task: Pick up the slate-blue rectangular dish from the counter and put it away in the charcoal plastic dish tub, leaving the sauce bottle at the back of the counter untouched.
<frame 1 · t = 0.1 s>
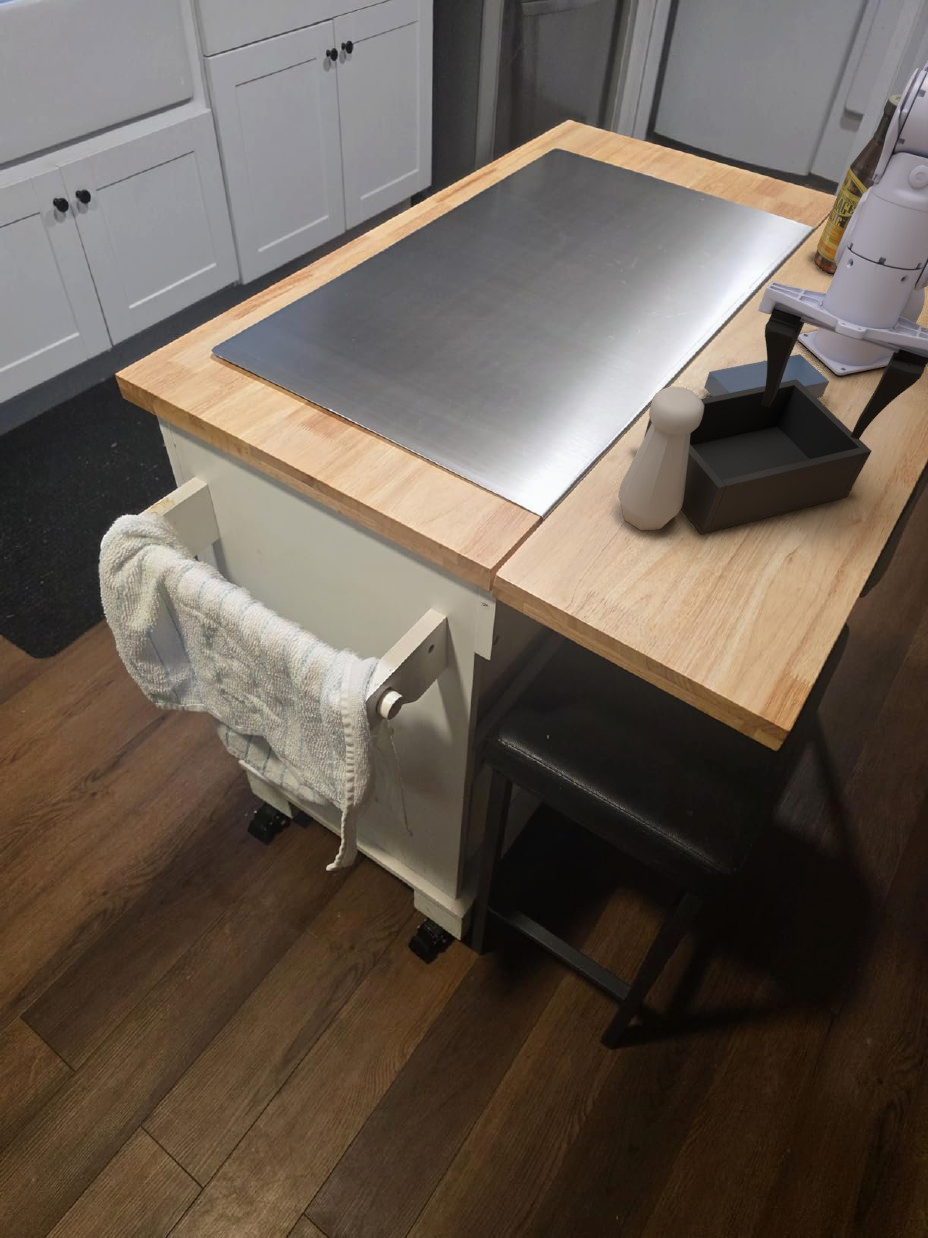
hand: (811, 417, 74), 10 cm above the kitchen island, tool pointing down, fingers open, 7 cm apart
tub: (741, 475, 85), on the kitchen island
dish: (760, 400, 93), on the kitchen island
sauce bottle: (835, 267, 114), on the kitchen island
salt shaker: (644, 517, 80), on the kitchen island
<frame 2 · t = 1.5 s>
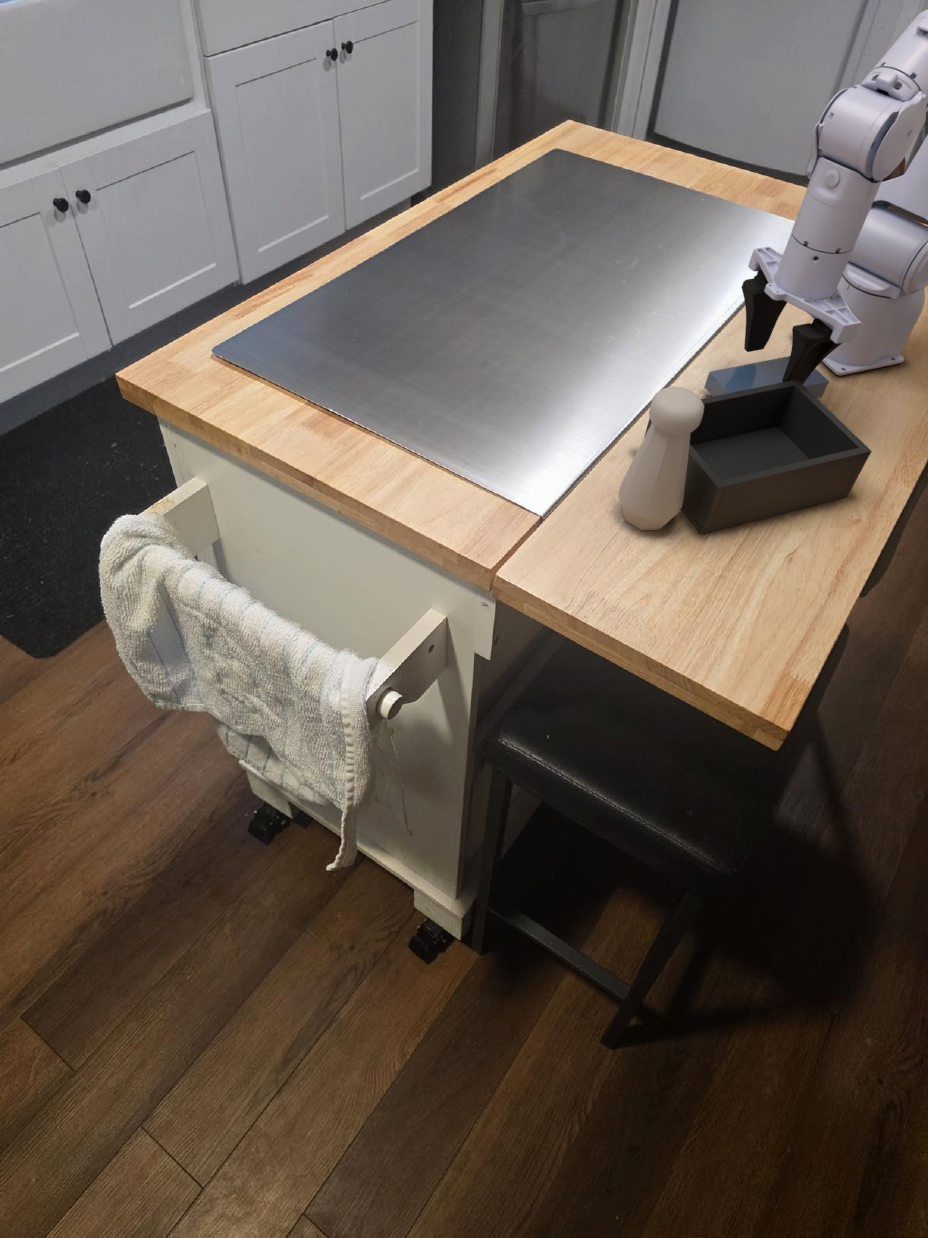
hand: (772, 367, 90), 4 cm above the kitchen island, tool pointing down, fingers open, 6 cm apart
nothing on the kitchen island moved.
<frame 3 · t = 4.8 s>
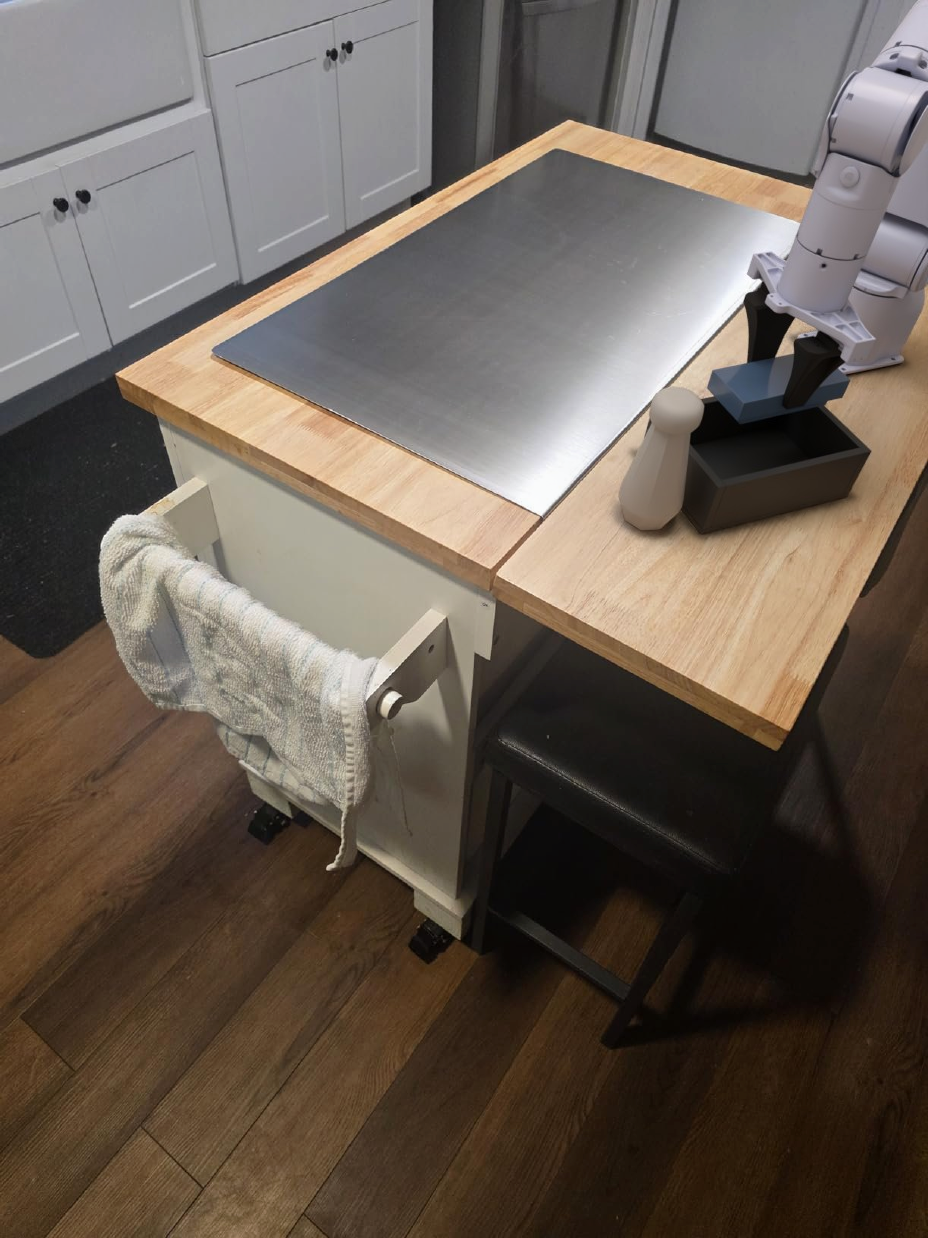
hand: (774, 386, 80), 8 cm above the kitchen island, tool pointing down, fingers closed on dish, 5 cm apart
dish: (771, 402, 81), point 7 cm above the kitchen island, touching gripper
everything else where it was.
when the fingers open (3 cm above the kitchen island, at t = 7.8 s): dish stays where it is, resting on tub.
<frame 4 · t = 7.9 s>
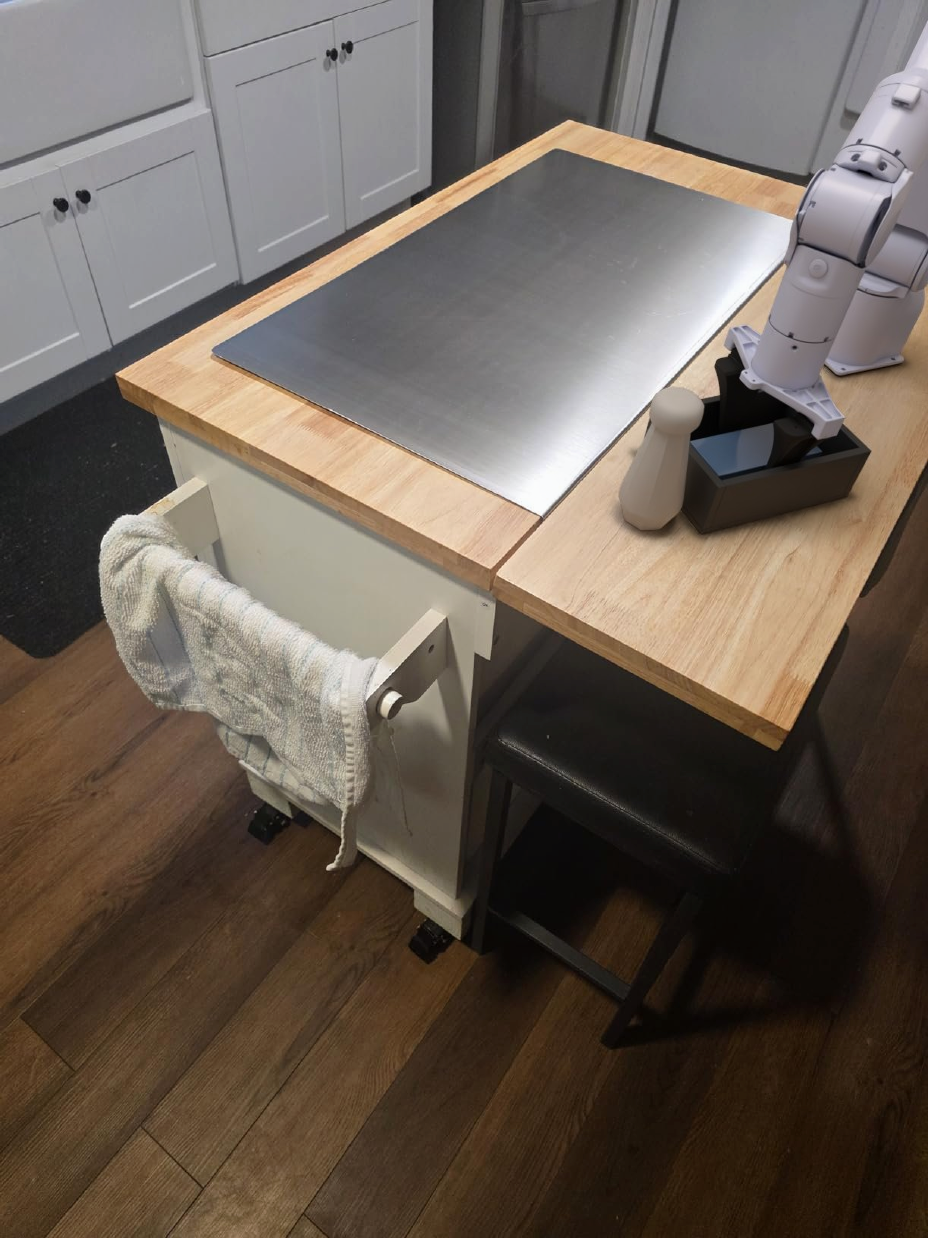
hand: (751, 453, 83), 3 cm above the kitchen island, tool pointing down, fingers open, 7 cm apart
dish: (746, 470, 84), point 1 cm above the kitchen island, touching tub
everything else where it was.
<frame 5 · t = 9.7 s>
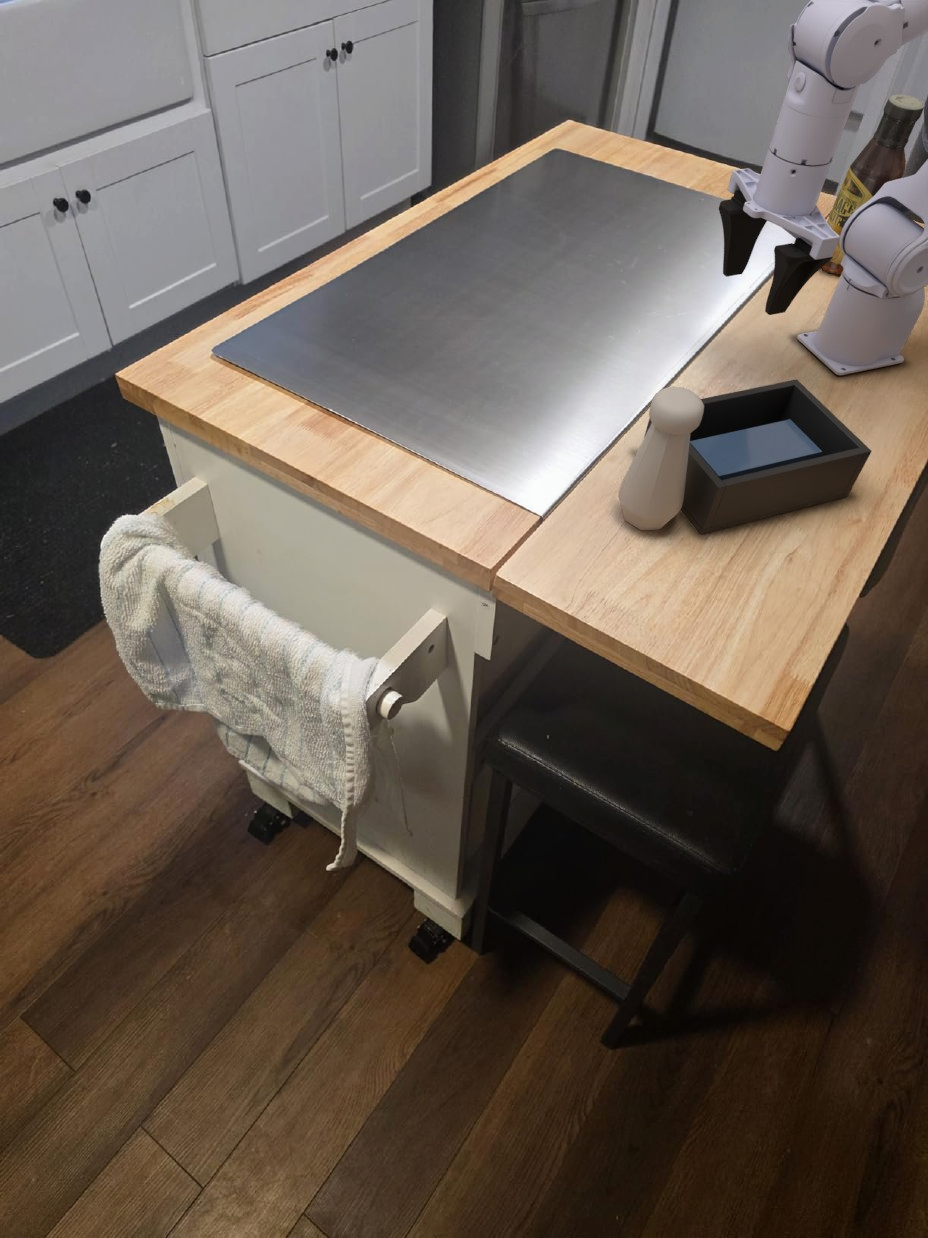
hand: (753, 292, 89), 9 cm above the kitchen island, tool pointing down, fingers open, 7 cm apart
nothing on the kitchen island moved.
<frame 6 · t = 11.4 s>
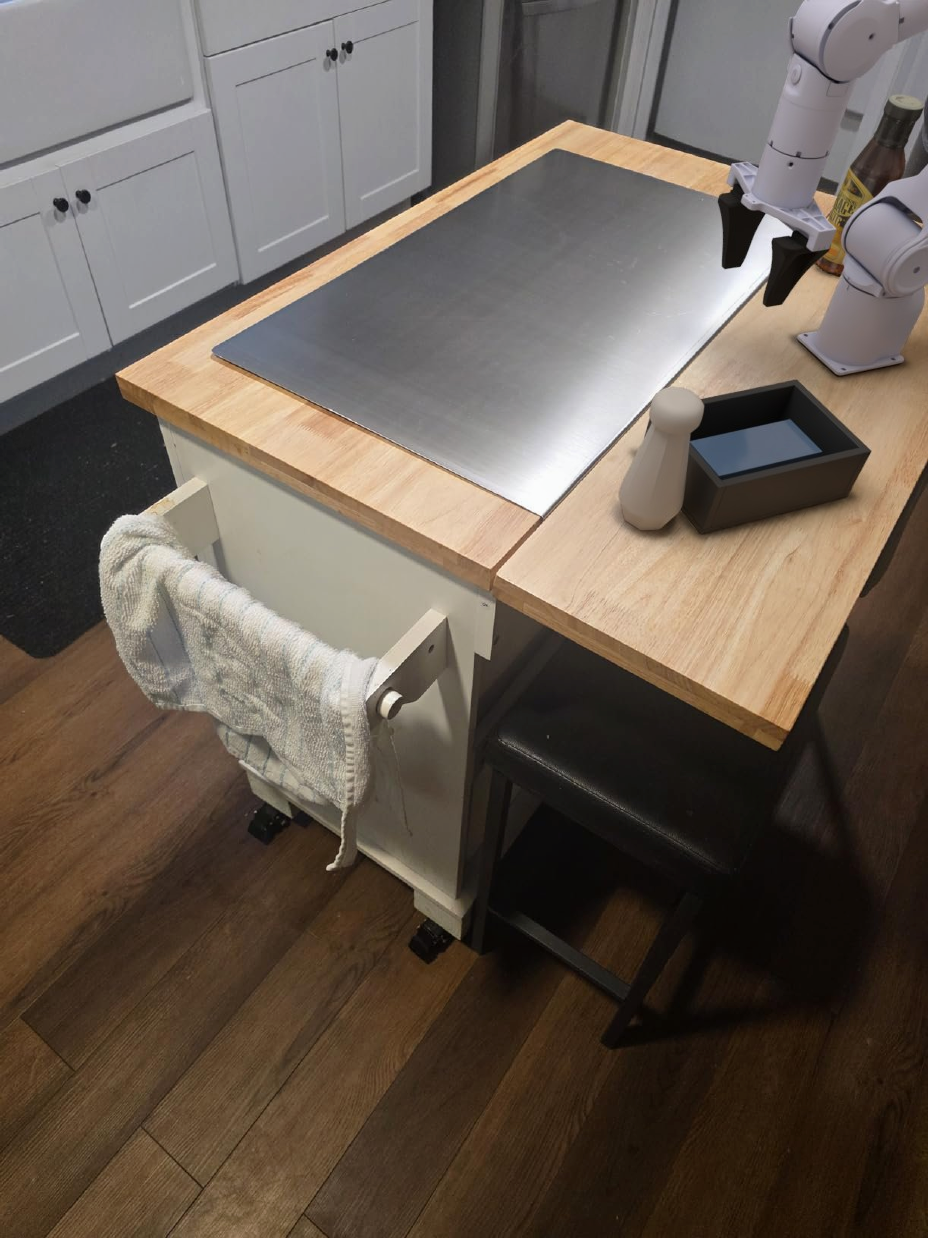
hand: (751, 284, 90), 9 cm above the kitchen island, tool pointing down, fingers open, 7 cm apart
nothing on the kitchen island moved.
at the end: dish inside the target area in the tub (0.3 cm from its centre), point 0.6 cm above the tub's base; dish tilted 0°; sauce bottle moved 0.2 cm from its start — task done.
